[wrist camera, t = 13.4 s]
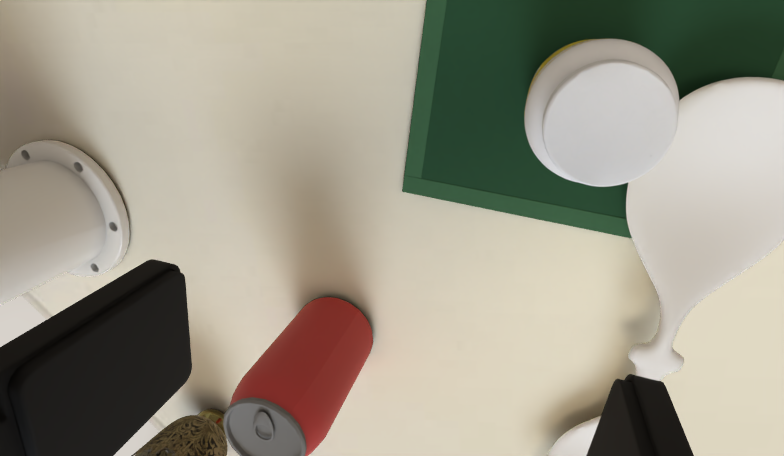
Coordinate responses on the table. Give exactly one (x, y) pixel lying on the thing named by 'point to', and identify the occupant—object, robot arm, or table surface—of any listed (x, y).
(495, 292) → the table surface
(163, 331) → the robot arm
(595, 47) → the pill bottle
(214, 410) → the cup
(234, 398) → the beer can
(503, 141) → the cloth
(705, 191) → the white plastic utensil
